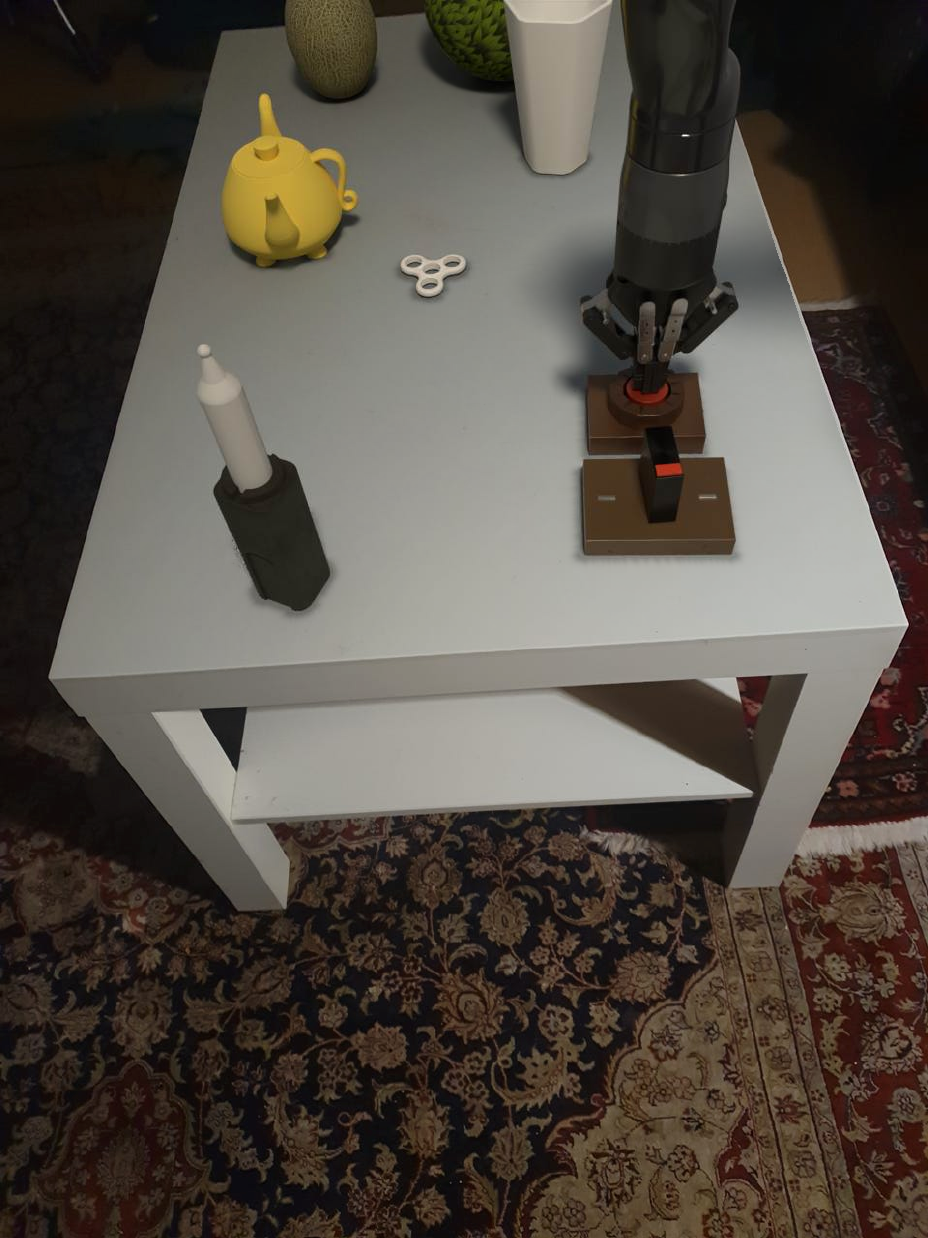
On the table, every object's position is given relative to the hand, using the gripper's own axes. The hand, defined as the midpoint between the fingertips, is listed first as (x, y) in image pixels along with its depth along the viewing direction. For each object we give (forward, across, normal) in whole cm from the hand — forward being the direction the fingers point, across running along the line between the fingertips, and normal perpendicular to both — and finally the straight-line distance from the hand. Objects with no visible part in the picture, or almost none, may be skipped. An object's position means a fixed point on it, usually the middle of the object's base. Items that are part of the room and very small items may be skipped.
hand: (647, 386), depth 81 cm
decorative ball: (+4, +8, -65) cm, 65 cm away
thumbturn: (+2, +1, +11) cm, 11 cm away
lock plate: (+4, +1, +11) cm, 12 cm away
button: (+2, 0, 0) cm, 2 cm away
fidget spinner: (+4, +19, -23) cm, 30 cm away
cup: (+4, +3, -44) cm, 44 cm away
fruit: (+4, +29, -64) cm, 70 cm away
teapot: (+4, +33, -33) cm, 47 cm away
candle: (+4, +32, +15) cm, 35 cm away
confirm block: (+4, 0, 0) cm, 4 cm away
